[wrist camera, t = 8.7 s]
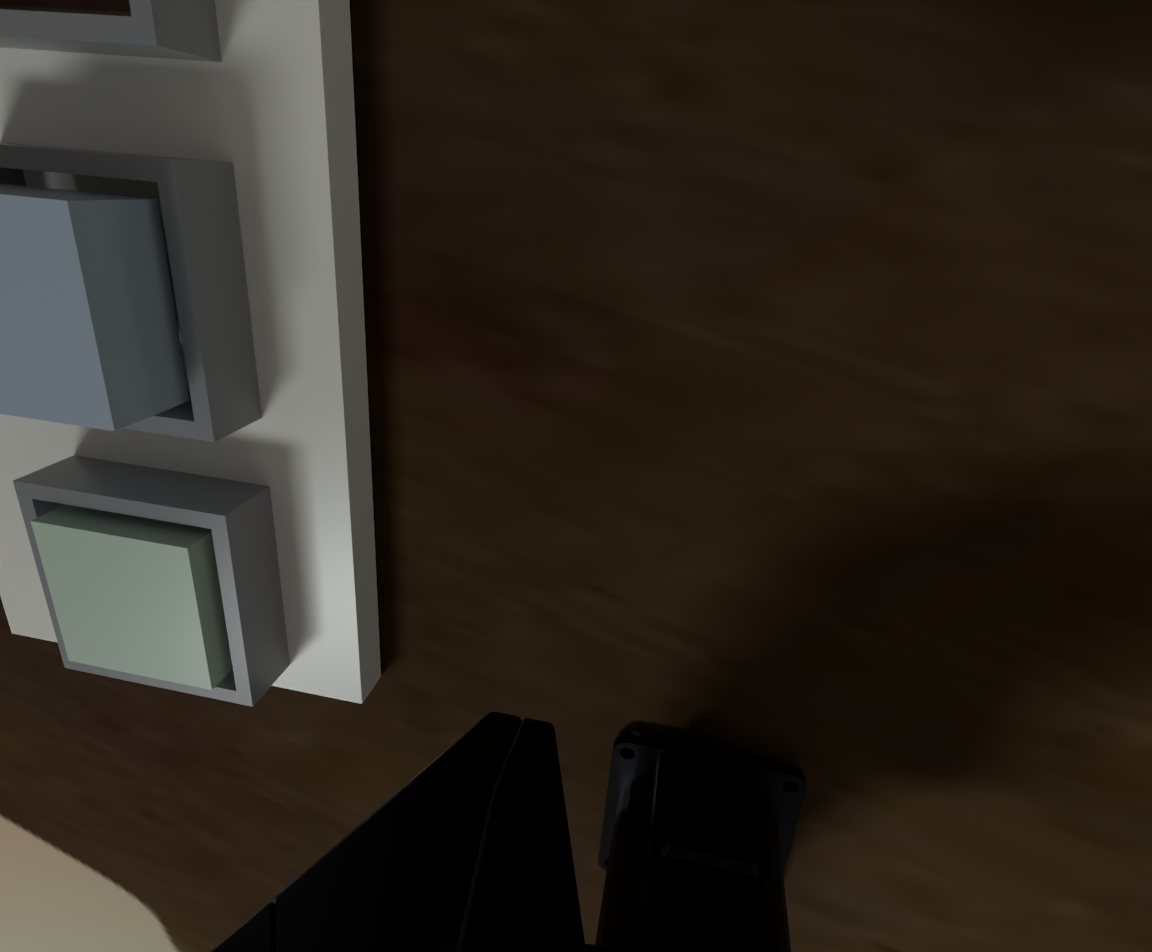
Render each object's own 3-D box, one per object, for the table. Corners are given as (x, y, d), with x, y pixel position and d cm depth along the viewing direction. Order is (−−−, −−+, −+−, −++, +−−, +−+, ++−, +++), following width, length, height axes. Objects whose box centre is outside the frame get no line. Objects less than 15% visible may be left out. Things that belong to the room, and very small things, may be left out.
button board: (381, 675, 25) (331, 749, 22) (47, 610, 27) (-45, 668, 24) (332, -358, 14) (219, -521, 11) (-220, -344, 16) (-456, -478, 13)
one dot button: (260, 641, 23) (211, 690, 21) (129, 615, 24) (68, 660, 22) (243, 509, 21) (187, 548, 19) (101, 486, 22) (30, 520, 20)
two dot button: (188, 400, 18) (114, 431, 16) (25, 377, 19) (-68, 403, 17) (157, 198, 16) (67, 201, 14) (-24, 181, 17) (-139, 180, 15)
